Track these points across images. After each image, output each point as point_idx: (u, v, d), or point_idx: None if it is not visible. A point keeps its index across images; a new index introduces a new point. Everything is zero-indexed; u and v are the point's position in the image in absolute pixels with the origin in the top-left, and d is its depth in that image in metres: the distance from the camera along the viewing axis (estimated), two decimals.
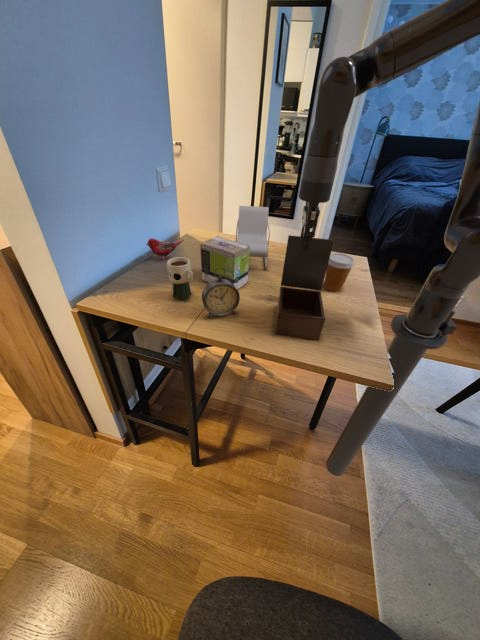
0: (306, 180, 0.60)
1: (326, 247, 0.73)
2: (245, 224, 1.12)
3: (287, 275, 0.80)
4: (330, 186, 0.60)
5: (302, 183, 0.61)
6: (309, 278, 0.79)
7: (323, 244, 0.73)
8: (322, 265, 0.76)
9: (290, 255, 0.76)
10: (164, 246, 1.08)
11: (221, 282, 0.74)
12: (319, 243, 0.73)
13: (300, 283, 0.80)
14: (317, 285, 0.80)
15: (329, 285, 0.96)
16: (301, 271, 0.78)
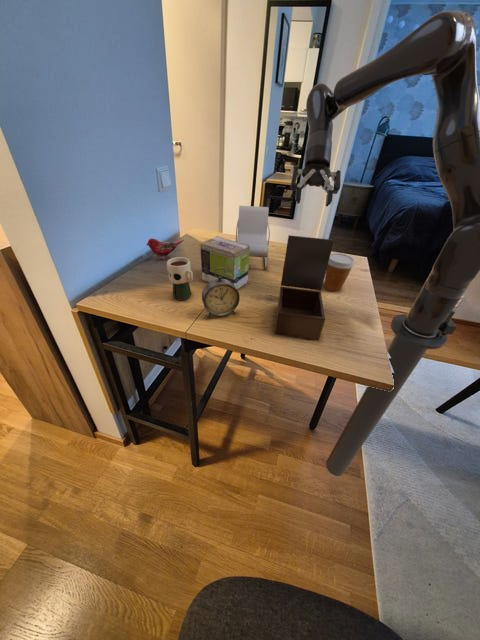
0: None
1: (326, 247, 0.73)
2: (245, 224, 1.12)
3: (287, 275, 0.80)
4: (312, 148, 0.75)
5: None
6: (309, 278, 0.79)
7: (323, 244, 0.73)
8: (322, 265, 0.76)
9: (290, 255, 0.76)
10: (164, 246, 1.08)
11: (221, 282, 0.74)
12: (319, 243, 0.73)
13: (300, 283, 0.80)
14: (317, 285, 0.80)
15: (329, 285, 0.96)
16: (301, 271, 0.78)
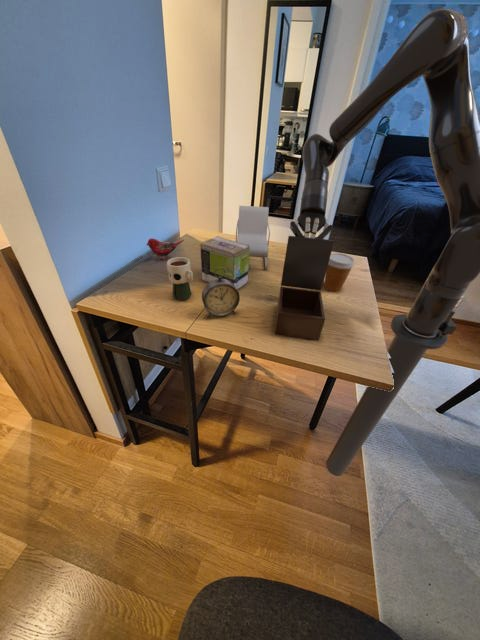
0: None
1: (326, 248, 0.73)
2: (245, 224, 1.12)
3: (287, 275, 0.79)
4: (307, 197, 0.76)
5: None
6: (309, 278, 0.79)
7: (323, 245, 0.73)
8: (322, 265, 0.76)
9: (290, 255, 0.76)
10: (164, 246, 1.08)
11: (221, 282, 0.74)
12: (319, 244, 0.73)
13: (300, 283, 0.80)
14: (317, 285, 0.80)
15: (329, 285, 0.96)
16: (301, 271, 0.78)
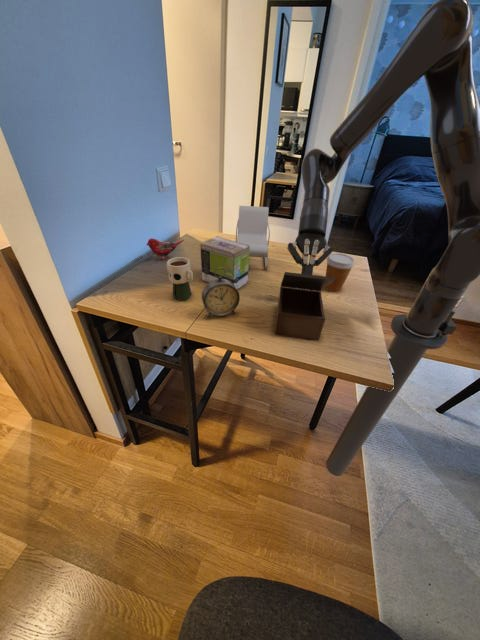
0: None
1: (326, 281, 0.68)
2: (245, 224, 1.12)
3: (286, 284, 0.78)
4: (306, 217, 0.70)
5: None
6: (308, 287, 0.78)
7: (322, 280, 0.67)
8: (321, 285, 0.73)
9: (288, 280, 0.72)
10: (164, 246, 1.08)
11: (221, 282, 0.74)
12: (318, 279, 0.67)
13: (300, 287, 0.80)
14: (317, 289, 0.79)
15: (329, 285, 0.96)
16: (300, 285, 0.76)
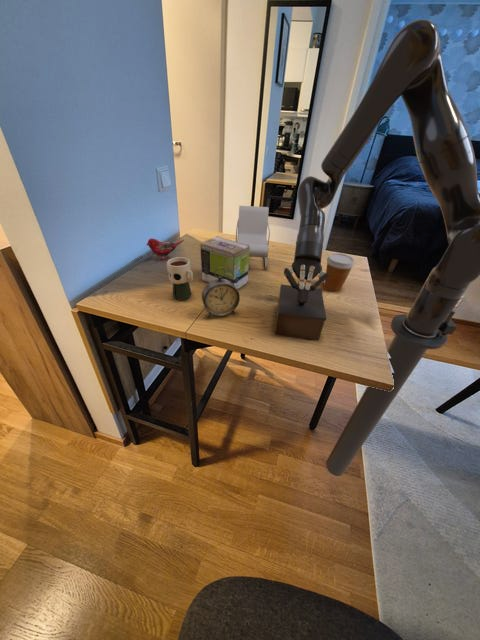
0: None
1: None
2: (245, 224, 1.12)
3: None
4: (302, 243, 0.72)
5: None
6: None
7: None
8: None
9: None
10: (164, 246, 1.08)
11: (221, 282, 0.74)
12: None
13: None
14: None
15: (329, 285, 0.96)
16: None
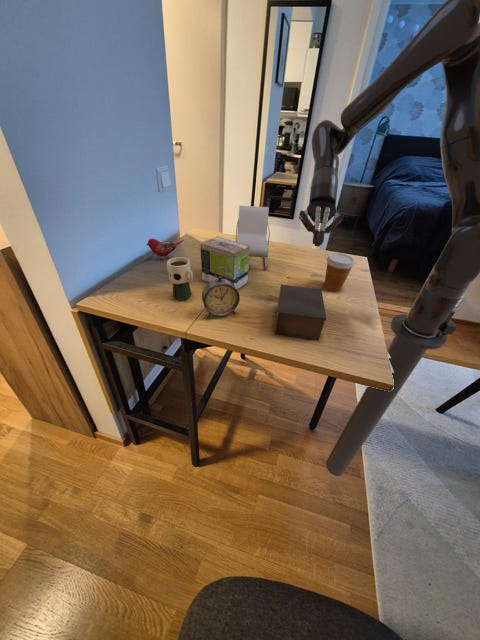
0: None
1: None
2: (245, 224, 1.12)
3: None
4: (317, 185, 0.73)
5: None
6: None
7: None
8: None
9: None
10: (164, 246, 1.08)
11: (221, 282, 0.74)
12: None
13: None
14: None
15: (329, 285, 0.96)
16: None
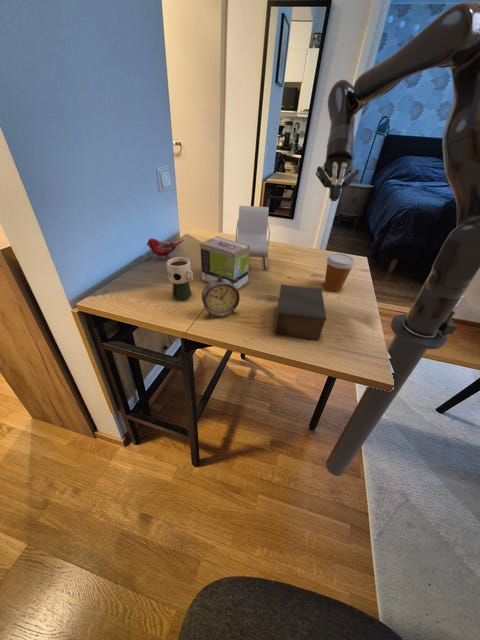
0: None
1: None
2: (245, 224, 1.12)
3: None
4: (334, 142, 0.76)
5: None
6: None
7: None
8: None
9: None
10: (164, 246, 1.08)
11: (221, 282, 0.74)
12: None
13: None
14: None
15: (329, 285, 0.96)
16: None
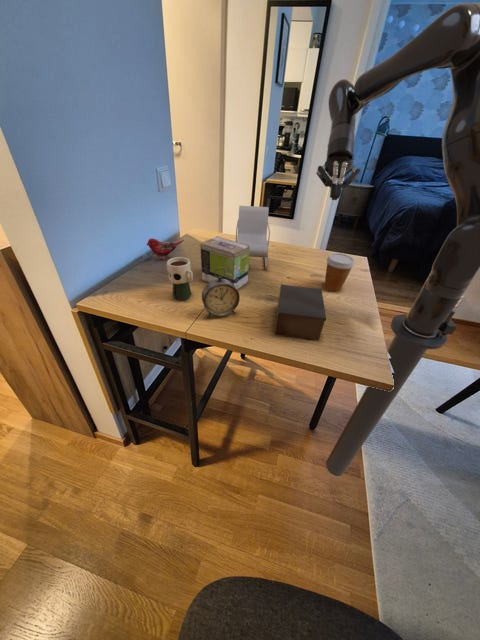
0: None
1: None
2: (245, 224, 1.12)
3: None
4: (335, 141, 0.76)
5: None
6: None
7: None
8: None
9: None
10: (164, 246, 1.08)
11: (221, 282, 0.74)
12: None
13: None
14: None
15: (329, 285, 0.96)
16: None
